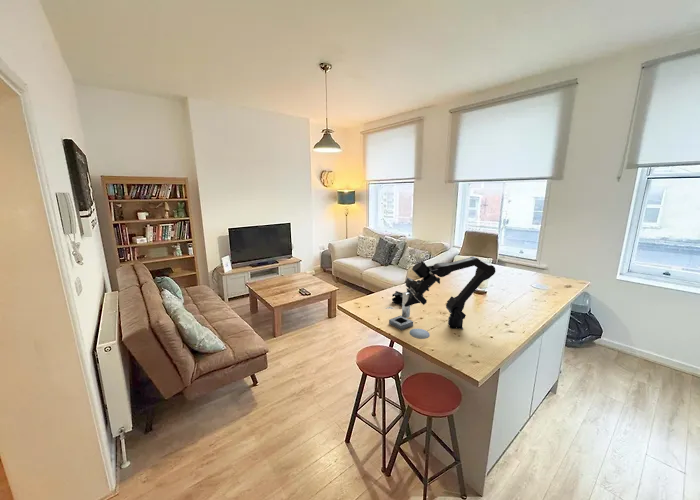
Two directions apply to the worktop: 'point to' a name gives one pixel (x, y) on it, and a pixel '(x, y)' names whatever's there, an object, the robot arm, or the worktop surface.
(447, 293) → the worktop surface
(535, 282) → the worktop surface
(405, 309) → the steel peg
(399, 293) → the end cap
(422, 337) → the rubber pad
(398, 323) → the socket block
